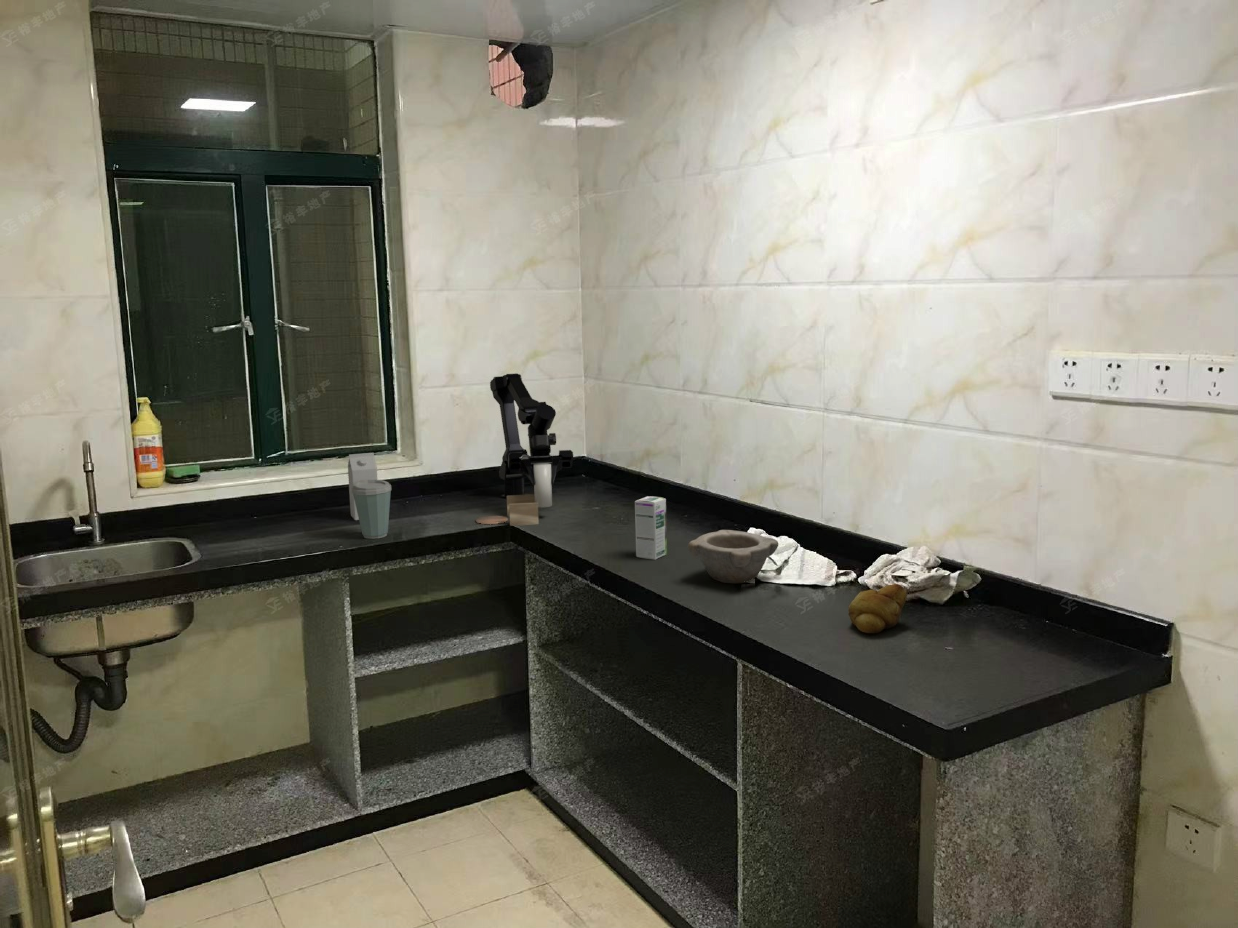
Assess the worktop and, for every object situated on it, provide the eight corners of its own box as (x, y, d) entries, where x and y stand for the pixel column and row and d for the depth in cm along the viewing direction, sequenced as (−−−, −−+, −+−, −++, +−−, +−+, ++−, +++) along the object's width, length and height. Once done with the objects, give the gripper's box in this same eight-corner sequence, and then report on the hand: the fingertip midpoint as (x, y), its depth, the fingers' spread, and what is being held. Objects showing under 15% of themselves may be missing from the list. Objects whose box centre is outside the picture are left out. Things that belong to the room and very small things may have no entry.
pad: (490, 516, 287) (490, 514, 287) (514, 519, 283) (514, 518, 283) (469, 522, 280) (469, 520, 280) (493, 526, 275) (493, 524, 275)
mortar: (741, 594, 211) (742, 553, 209) (680, 579, 222) (680, 540, 220) (784, 577, 223) (785, 538, 221) (724, 564, 234) (725, 526, 233)
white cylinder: (541, 502, 287) (540, 462, 285) (555, 504, 284) (554, 464, 282) (531, 506, 283) (530, 465, 280) (545, 508, 280) (544, 466, 278)
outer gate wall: (509, 524, 277) (509, 503, 276) (538, 523, 279) (537, 502, 278) (510, 525, 276) (509, 505, 275) (538, 524, 277) (537, 503, 276)
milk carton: (350, 516, 290) (346, 452, 287) (374, 513, 293) (371, 450, 290) (355, 520, 284) (351, 456, 280) (379, 518, 287) (376, 454, 283)
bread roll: (883, 641, 182) (884, 599, 180) (834, 630, 188) (835, 590, 186) (909, 622, 192) (910, 582, 190) (862, 613, 198) (863, 574, 196)
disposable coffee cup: (403, 534, 267) (400, 480, 264) (373, 543, 258) (370, 487, 255) (375, 529, 273) (372, 477, 270) (345, 538, 264) (342, 483, 261)
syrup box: (655, 560, 238) (655, 501, 236) (634, 557, 241) (634, 499, 239) (667, 554, 243) (667, 497, 240) (646, 551, 246) (646, 495, 243)
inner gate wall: (507, 515, 289) (506, 495, 288) (534, 514, 290) (533, 494, 289) (507, 516, 287) (507, 496, 286) (534, 515, 288) (534, 495, 287)
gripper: (507, 424, 281) (511, 469, 273) (572, 422, 285) (577, 466, 276) (506, 447, 290) (510, 491, 282) (569, 445, 294) (574, 488, 285)
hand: (543, 484), depth 281 cm, fingers closed on white cylinder, 5 cm apart
